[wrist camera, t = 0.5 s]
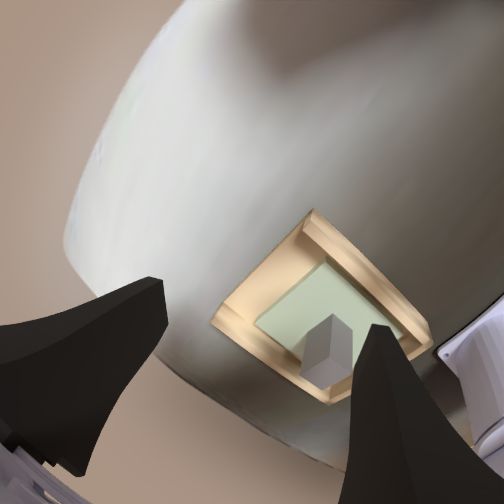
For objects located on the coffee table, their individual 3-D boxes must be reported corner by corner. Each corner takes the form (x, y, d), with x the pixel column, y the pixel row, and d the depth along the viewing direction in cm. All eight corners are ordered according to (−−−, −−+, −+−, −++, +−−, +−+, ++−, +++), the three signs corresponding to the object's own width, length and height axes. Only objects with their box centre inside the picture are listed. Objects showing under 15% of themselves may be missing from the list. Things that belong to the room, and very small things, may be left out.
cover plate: (402, 327, 18) (411, 378, 14) (331, 373, 21) (326, 421, 17) (325, 255, 17) (321, 300, 13) (257, 316, 21) (237, 363, 17)
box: (427, 321, 18) (433, 344, 16) (330, 383, 23) (328, 405, 21) (313, 208, 17) (309, 222, 15) (222, 301, 22) (209, 322, 20)
